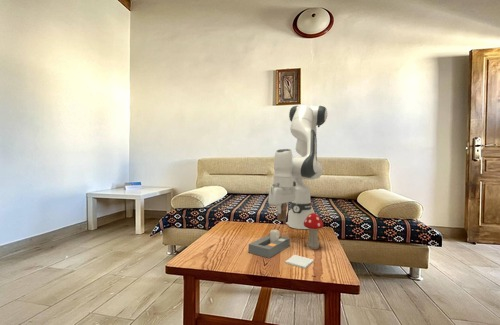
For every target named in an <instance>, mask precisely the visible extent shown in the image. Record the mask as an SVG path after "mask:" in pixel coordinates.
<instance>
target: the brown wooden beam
mask: <svg viewBox="0 0 500 325" xmlns="http://www.w3.org/2000/svg"><path fill="white" fill-rule="evenodd" d="M281 209H282V213H281V214H279V213H277V212H276V213H277V214H276V216H277V221H280V222H285V221H286V220H287V211H286V203H283V204H281Z"/></svg>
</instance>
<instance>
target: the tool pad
mask: <svg viewBox="0 0 500 325" xmlns="http://www.w3.org/2000/svg"><path fill="white" fill-rule="evenodd" d="M313 263H314V259H313V258H309V257H305V256H300V255H297V254H293V255H292V256H291V257H289V258H287V260H285V264H287V265H292V266H294V267H298V268H302V269H307V268H308V267H309V266H310V265H312V264H313Z"/></svg>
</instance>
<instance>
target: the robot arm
mask: <svg viewBox="0 0 500 325" xmlns="http://www.w3.org/2000/svg"><path fill="white" fill-rule="evenodd" d="M288 116H289V117H288V118H289V121H290V122H291V123H290V127H289V128H290V133H291V135H292V136H293V137H294V138H295V139H296V145H295V152H296V153H297V154H298V155H300V156H293V152H292V149H289V148H282V149H278V150H276V151H275V154H274V158H273V159H274V160H273V170H274V171H273V172H274V174H273V179H272V180H273V182H272V185H271V187H270V188H269V192H268V204H269V205H270V206H275V207H276V211H277V212H276V213H279V214H281V213H282V209H281V204H283V203H286V212H287V210H288V209H287V208H288V206H289V203H290V207H289V208H290V209H289V210H288V215H287V222H285V224H286V225H287V226H288V227H290V228H293V229H298V230H309V228H307V227H305V226H304V221H305V220H306V218H307V216H308V215H309V214H311V213H315V212H314V211H313V209H312V208H313V207H312V206H313V202H311V189H310V187H309V186H307V185H306V184H305V183H304V181H303V180H315V179H320V178H321V176H322V175H323V166H322V164H321V163H320V161H318V157H317V156H318V152H317V148H318V144H317V140H318V139H317V128H320V127H321V126H323V125H324V124H325V122H326V121H327V118H328V110H327V107H326V106H322V105H314V104H313V105H311V104H307V105H306V104H305V105H304V104H303V105H294V106H292V107H291V108H290V109H289V112H288Z"/></svg>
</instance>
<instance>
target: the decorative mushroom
mask: <svg viewBox="0 0 500 325" xmlns="http://www.w3.org/2000/svg"><path fill="white" fill-rule="evenodd" d="M304 226H305V227H307V228H309V229H308V231H309V232H308V240H307V242H306V244H307V248H308V249H311V250H318V249H320V248H319V247H320V245H321V244H320V242H319V234H318V233H319V232H318V230H320V229H323V228H324V222H323V221H322V219H321V217H320V216H319V214H317V213H315V212H314V213H311V214H309V215H308V216H307V218H306V220H305V221H304Z"/></svg>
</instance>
